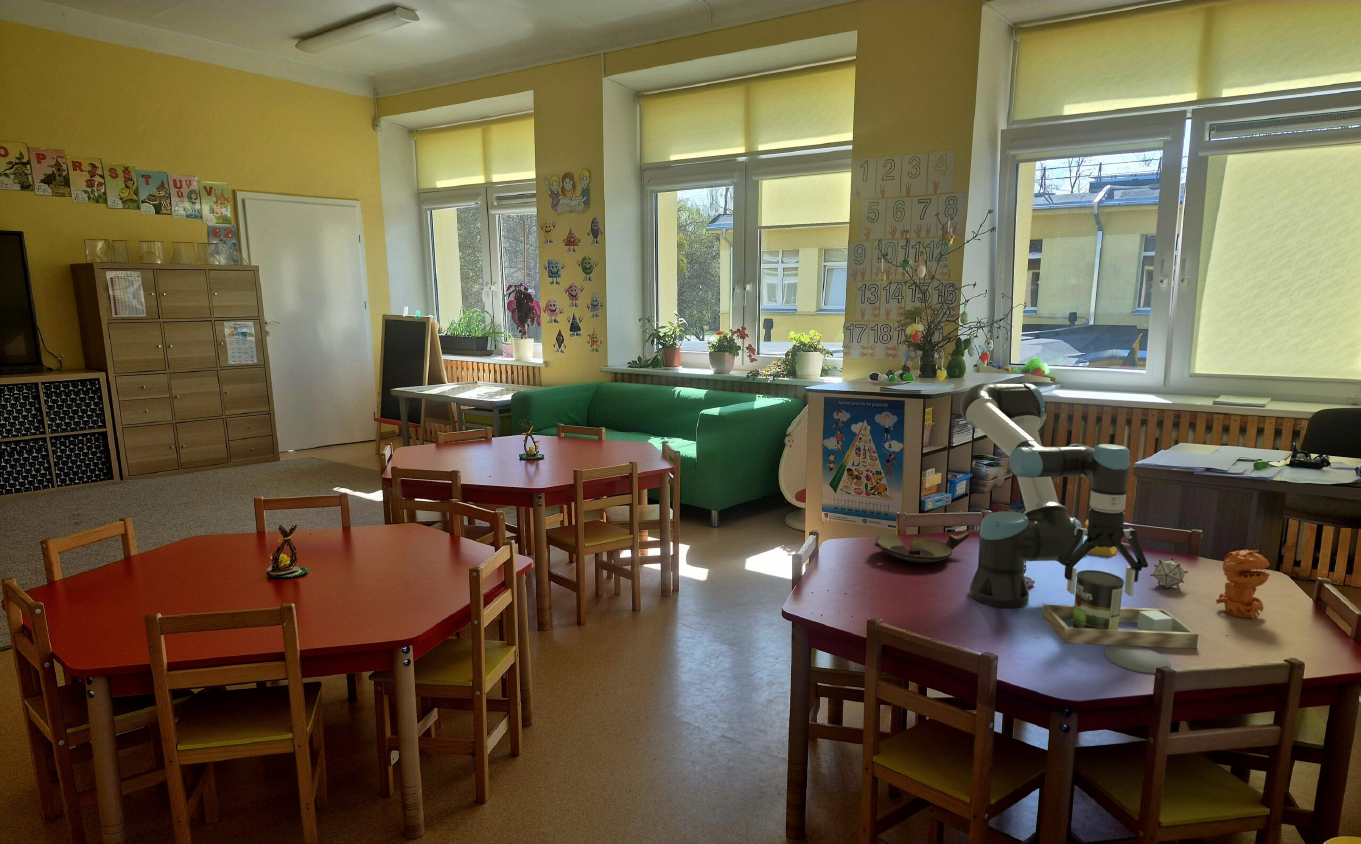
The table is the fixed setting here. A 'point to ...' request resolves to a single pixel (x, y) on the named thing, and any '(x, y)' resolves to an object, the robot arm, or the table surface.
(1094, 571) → the coffee can
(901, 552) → the oil lamp
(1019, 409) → the robot arm
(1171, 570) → the game die
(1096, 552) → the yellow toy chair
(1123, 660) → the trivet
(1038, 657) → the table surface
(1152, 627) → the pale green cube
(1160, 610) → the frame
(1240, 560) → the toy dinosaur
